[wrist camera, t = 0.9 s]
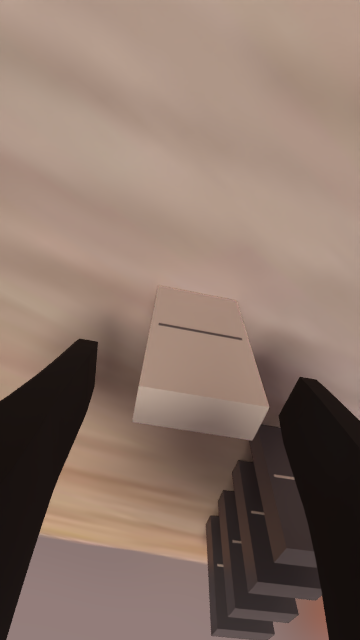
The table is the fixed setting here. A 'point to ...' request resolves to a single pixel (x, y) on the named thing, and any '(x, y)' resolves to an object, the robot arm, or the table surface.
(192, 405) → the ivory tile
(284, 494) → the tile
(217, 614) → the tile
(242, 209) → the table surface
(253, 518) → the tile
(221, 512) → the tile
